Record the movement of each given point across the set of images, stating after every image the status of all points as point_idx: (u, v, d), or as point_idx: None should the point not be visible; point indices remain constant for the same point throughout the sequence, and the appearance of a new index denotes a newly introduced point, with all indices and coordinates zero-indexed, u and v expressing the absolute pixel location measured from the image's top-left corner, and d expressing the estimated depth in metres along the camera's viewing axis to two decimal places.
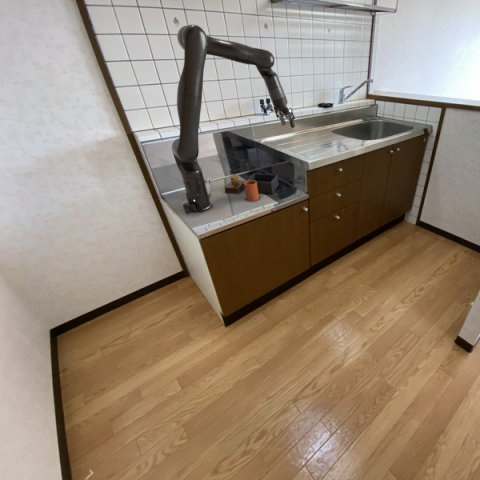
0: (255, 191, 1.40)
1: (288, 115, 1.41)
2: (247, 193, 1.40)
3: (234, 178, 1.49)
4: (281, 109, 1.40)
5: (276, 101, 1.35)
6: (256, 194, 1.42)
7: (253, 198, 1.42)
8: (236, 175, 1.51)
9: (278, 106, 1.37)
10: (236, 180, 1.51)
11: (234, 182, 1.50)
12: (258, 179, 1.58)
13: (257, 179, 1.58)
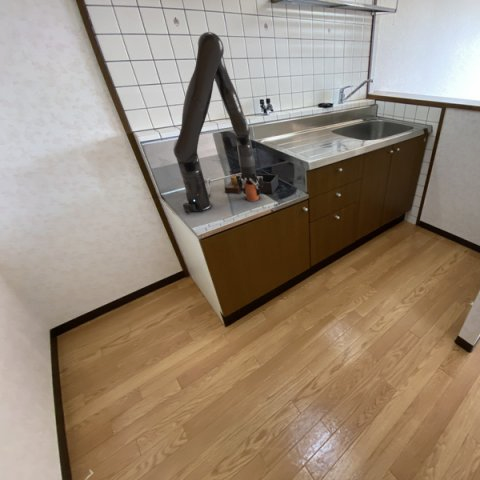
0: (255, 191, 1.40)
1: (256, 183, 1.39)
2: (247, 193, 1.40)
3: (234, 178, 1.49)
4: (249, 176, 1.36)
5: (249, 168, 1.32)
6: (256, 194, 1.42)
7: (253, 198, 1.42)
8: (236, 175, 1.51)
9: (250, 173, 1.33)
10: (236, 180, 1.51)
11: (234, 182, 1.50)
12: None
13: (257, 179, 1.58)
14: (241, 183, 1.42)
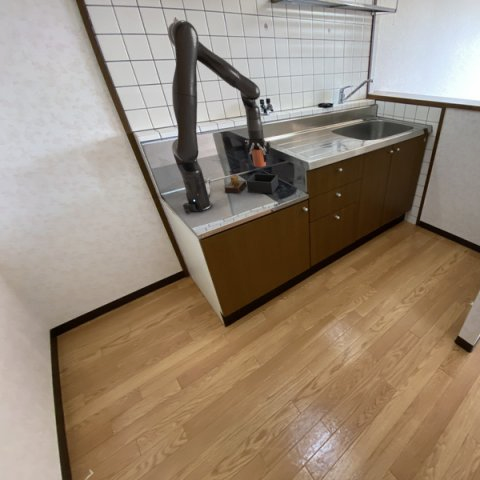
0: (262, 157, 1.42)
1: (263, 148, 1.40)
2: (254, 159, 1.42)
3: (234, 178, 1.49)
4: (257, 141, 1.38)
5: (257, 132, 1.33)
6: (263, 160, 1.43)
7: (260, 164, 1.43)
8: (236, 175, 1.51)
9: (258, 137, 1.35)
10: (236, 180, 1.51)
11: (234, 182, 1.50)
12: (258, 179, 1.58)
13: (257, 179, 1.58)
14: (248, 149, 1.43)
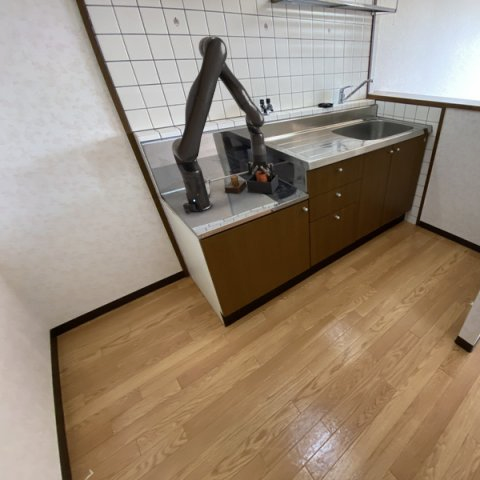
0: (266, 181, 1.50)
1: (267, 170, 1.48)
2: None
3: (234, 178, 1.49)
4: (261, 164, 1.46)
5: (261, 156, 1.41)
6: None
7: None
8: (236, 175, 1.51)
9: (261, 161, 1.42)
10: (236, 180, 1.51)
11: (234, 182, 1.50)
12: None
13: None
14: (251, 170, 1.51)
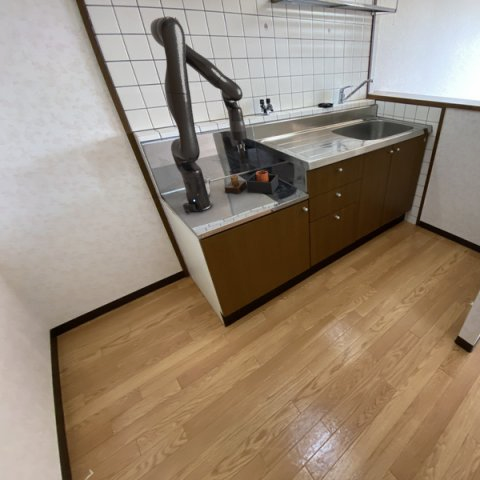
0: (266, 181, 1.50)
1: None
2: None
3: (234, 178, 1.49)
4: (237, 142, 1.39)
5: (232, 132, 1.34)
6: None
7: None
8: (236, 175, 1.51)
9: (233, 138, 1.36)
10: (236, 180, 1.51)
11: (234, 182, 1.50)
12: None
13: None
14: None
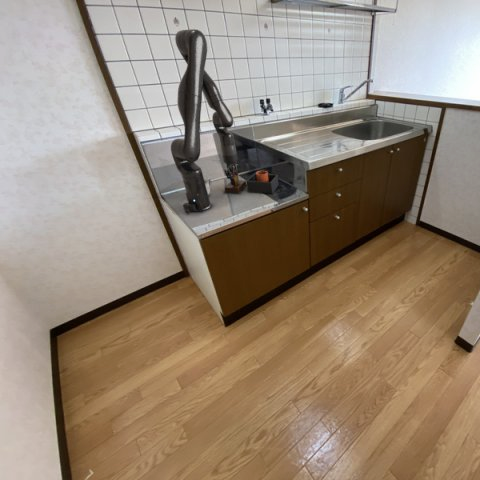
0: (266, 181, 1.50)
1: (230, 173, 1.47)
2: None
3: (234, 178, 1.49)
4: None
5: (222, 155, 1.42)
6: None
7: None
8: (236, 175, 1.51)
9: (223, 160, 1.44)
10: (236, 180, 1.51)
11: None
12: None
13: None
14: None
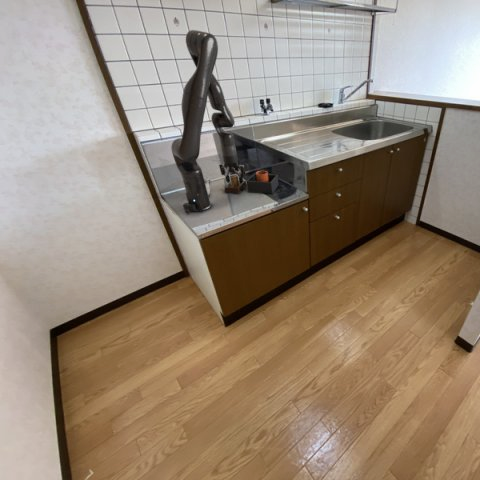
0: (266, 181, 1.50)
1: (238, 171, 1.48)
2: None
3: (237, 176, 1.51)
4: (232, 165, 1.46)
5: (231, 157, 1.41)
6: None
7: None
8: (232, 175, 1.51)
9: (232, 162, 1.42)
10: None
11: None
12: None
13: None
14: (224, 172, 1.51)
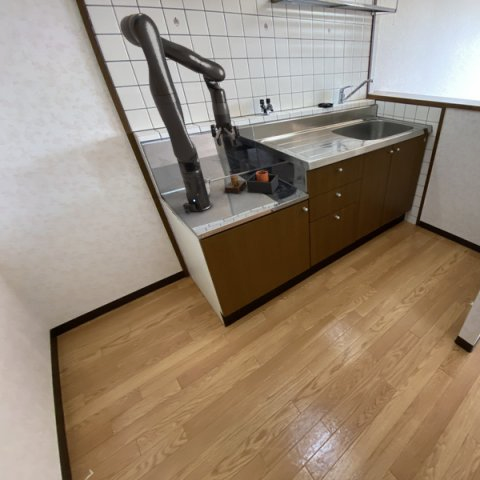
0: (266, 181, 1.50)
1: (232, 133, 1.36)
2: None
3: (237, 176, 1.51)
4: (224, 126, 1.34)
5: (223, 116, 1.30)
6: None
7: None
8: (232, 175, 1.51)
9: (224, 121, 1.31)
10: None
11: None
12: None
13: None
14: (215, 134, 1.39)
